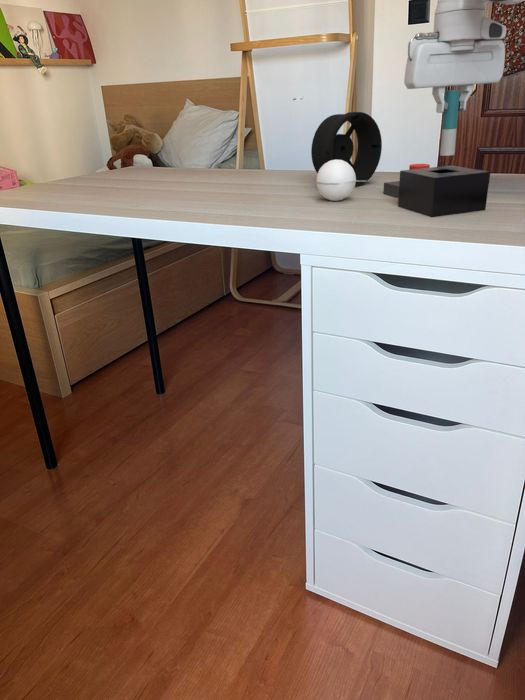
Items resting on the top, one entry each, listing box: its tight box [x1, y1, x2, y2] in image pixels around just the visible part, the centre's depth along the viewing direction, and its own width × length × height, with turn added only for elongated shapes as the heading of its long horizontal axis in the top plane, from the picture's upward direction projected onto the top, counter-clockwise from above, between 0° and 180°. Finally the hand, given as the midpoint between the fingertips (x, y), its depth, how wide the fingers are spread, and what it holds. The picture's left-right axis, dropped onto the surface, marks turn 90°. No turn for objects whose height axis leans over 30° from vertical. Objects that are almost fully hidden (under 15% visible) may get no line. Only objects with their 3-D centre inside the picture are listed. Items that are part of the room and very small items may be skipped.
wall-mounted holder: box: [310, 111, 383, 188], centre depth 111 cm, size 14×14×10 cm
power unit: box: [382, 180, 400, 199], centre depth 99 cm, size 10×8×4 cm
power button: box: [408, 163, 431, 170], centre depth 98 cm, size 4×4×2 cm
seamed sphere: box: [315, 160, 356, 202], centre depth 96 cm, size 10×7×7 cm
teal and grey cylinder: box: [439, 89, 461, 157], centre depth 106 cm, size 3×3×12 cm
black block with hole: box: [397, 165, 491, 218], centre depth 86 cm, size 10×10×6 cm
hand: (451, 111), depth 105 cm, fingers closed on teal and grey cylinder, 3 cm apart
